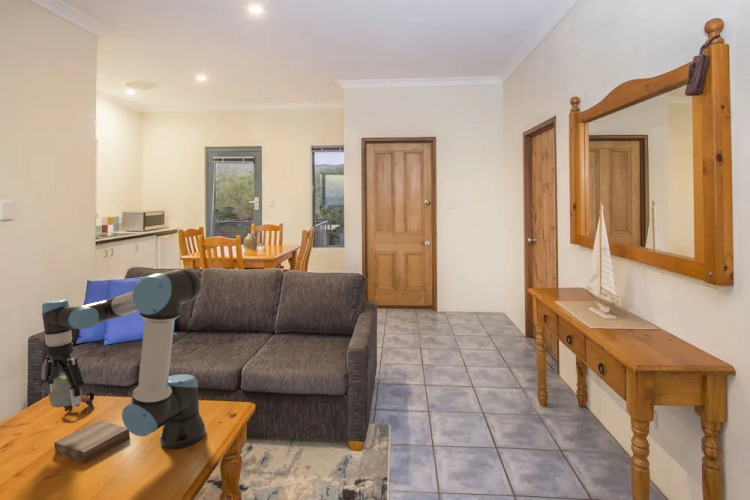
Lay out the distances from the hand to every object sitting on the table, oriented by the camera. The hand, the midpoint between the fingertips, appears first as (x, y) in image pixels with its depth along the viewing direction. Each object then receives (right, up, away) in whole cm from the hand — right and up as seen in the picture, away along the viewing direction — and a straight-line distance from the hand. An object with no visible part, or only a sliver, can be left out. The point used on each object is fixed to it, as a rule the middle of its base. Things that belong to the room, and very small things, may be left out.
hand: (66, 402), depth 148 cm
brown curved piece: (-13, -13, +26) cm, 32 cm away
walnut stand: (+11, -15, -1) cm, 19 cm away
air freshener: (0, -1, 0) cm, 1 cm away
